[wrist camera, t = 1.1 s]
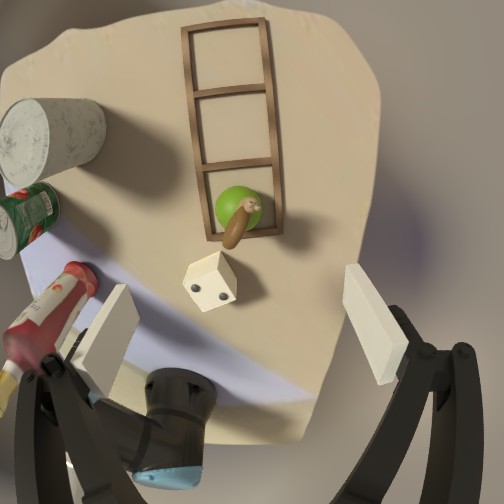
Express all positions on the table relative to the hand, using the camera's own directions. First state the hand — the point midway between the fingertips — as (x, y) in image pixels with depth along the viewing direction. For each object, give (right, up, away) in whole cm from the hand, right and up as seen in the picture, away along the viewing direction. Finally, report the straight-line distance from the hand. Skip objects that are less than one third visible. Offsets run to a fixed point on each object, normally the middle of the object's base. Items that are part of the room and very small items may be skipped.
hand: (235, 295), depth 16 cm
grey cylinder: (-23, +19, +13) cm, 32 cm away
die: (-5, 0, +23) cm, 23 cm away
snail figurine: (0, +9, +19) cm, 21 cm away
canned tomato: (-32, +10, +17) cm, 37 cm away
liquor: (-26, -1, +23) cm, 35 cm away
